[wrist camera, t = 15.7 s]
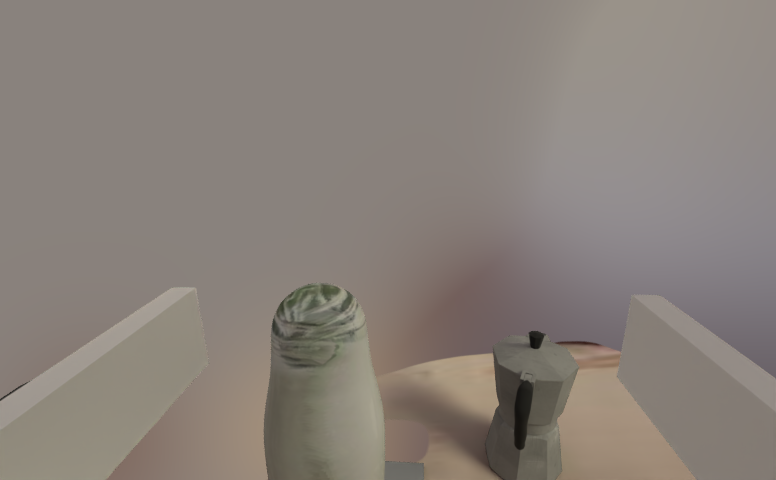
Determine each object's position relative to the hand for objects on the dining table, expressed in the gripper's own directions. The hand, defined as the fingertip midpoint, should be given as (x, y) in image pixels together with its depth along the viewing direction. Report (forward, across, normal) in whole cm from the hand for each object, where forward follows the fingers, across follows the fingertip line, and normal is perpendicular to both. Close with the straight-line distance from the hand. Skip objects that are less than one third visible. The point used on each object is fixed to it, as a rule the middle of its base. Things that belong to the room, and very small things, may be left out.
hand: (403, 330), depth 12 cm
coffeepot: (+28, +13, -35) cm, 47 cm away
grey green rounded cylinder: (+16, -8, -34) cm, 39 cm away
